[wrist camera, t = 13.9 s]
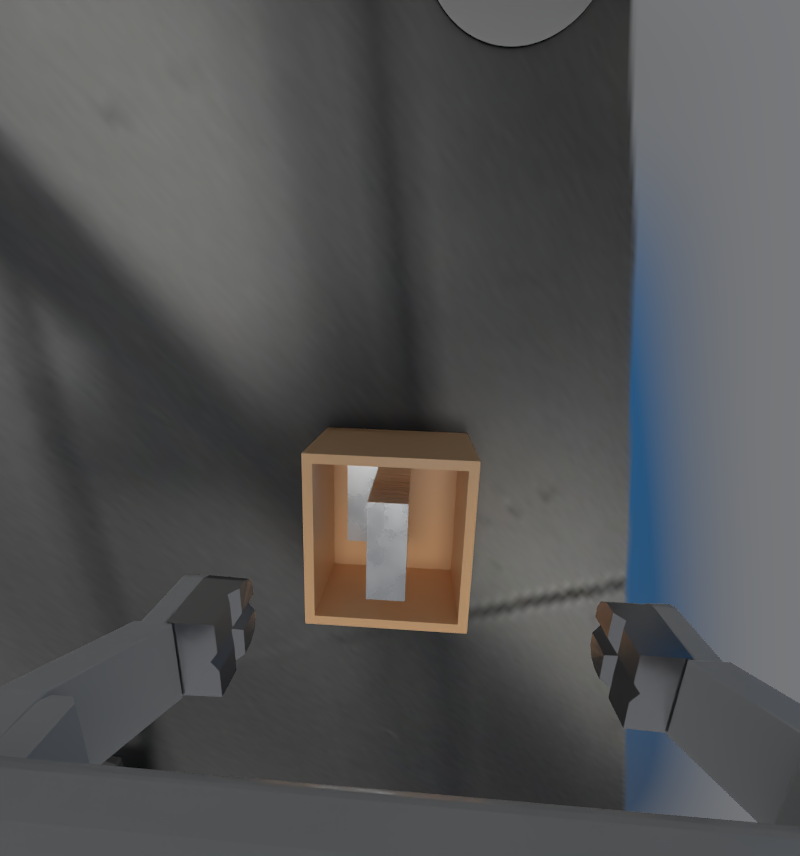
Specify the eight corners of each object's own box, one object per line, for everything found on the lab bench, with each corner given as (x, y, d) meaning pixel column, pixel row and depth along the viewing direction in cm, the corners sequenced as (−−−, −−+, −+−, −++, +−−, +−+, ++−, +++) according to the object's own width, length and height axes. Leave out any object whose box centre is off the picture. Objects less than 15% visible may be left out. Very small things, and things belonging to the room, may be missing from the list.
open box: (327, 427, 40) (301, 453, 31) (467, 433, 39) (480, 461, 30) (328, 564, 43) (305, 623, 34) (457, 571, 42) (466, 633, 34)
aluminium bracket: (408, 537, 41) (404, 601, 31) (349, 534, 41) (327, 596, 31) (411, 462, 39) (408, 504, 29) (349, 459, 39) (326, 500, 29)
